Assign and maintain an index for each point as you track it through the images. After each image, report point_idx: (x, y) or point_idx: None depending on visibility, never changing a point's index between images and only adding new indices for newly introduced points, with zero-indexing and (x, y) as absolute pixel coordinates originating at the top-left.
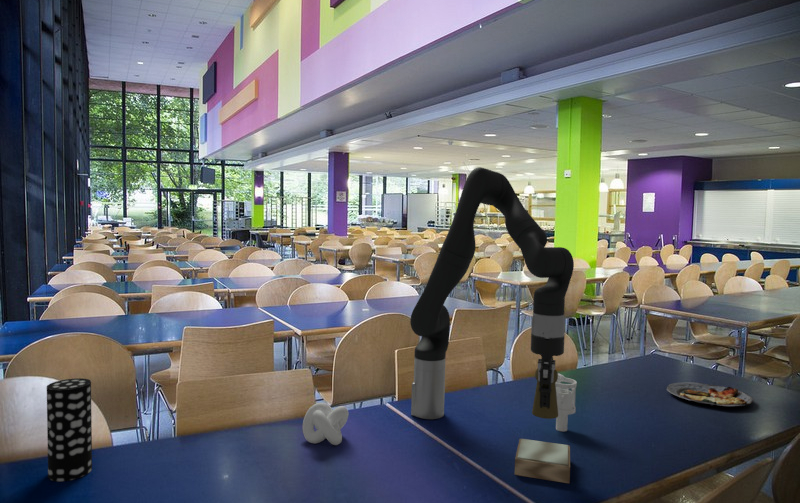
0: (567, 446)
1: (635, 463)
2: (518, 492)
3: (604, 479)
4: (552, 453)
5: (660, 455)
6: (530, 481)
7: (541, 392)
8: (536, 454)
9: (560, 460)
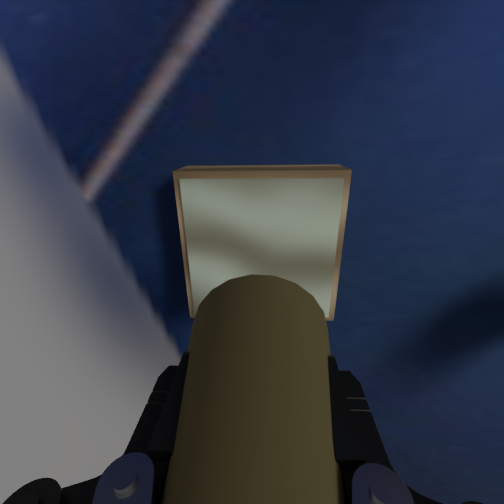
0: None
1: None
2: (97, 185)
3: None
4: None
5: (400, 449)
6: (169, 210)
7: (150, 456)
8: (225, 236)
9: None
